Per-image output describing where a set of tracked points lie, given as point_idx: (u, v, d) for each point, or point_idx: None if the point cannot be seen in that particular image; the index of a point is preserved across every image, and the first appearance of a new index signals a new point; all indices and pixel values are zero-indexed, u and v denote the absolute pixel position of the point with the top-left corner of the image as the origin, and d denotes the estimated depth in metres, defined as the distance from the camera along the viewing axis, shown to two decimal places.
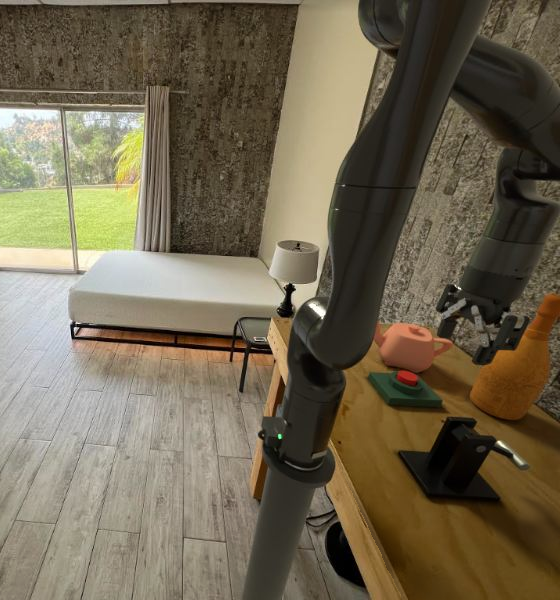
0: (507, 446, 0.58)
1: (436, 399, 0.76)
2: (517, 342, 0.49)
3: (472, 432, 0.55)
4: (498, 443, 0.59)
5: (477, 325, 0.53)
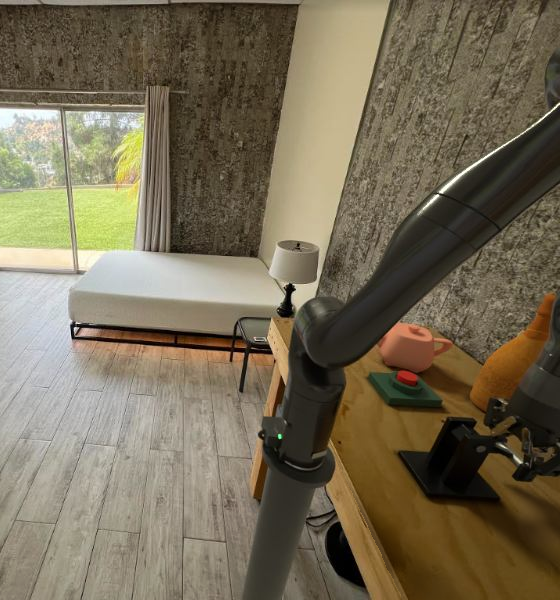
0: (507, 446, 0.58)
1: (436, 399, 0.76)
2: None
3: (472, 432, 0.55)
4: (498, 443, 0.59)
5: (523, 446, 0.53)
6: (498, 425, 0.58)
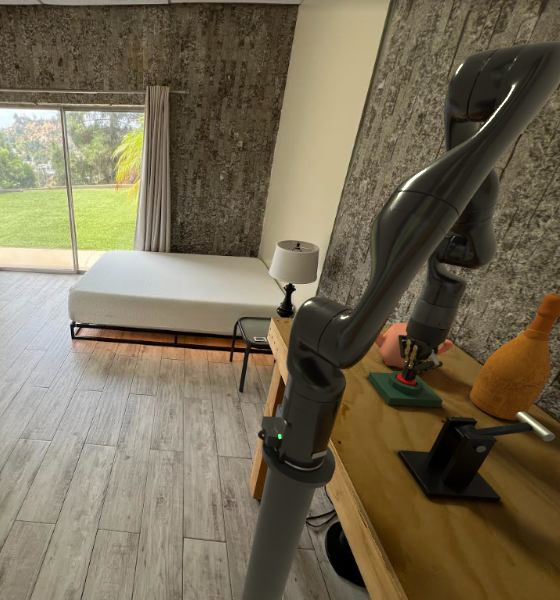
0: (525, 418, 0.55)
1: (436, 399, 0.76)
2: (429, 370, 0.74)
3: None
4: (517, 417, 0.56)
5: (411, 356, 0.76)
6: (405, 352, 0.78)
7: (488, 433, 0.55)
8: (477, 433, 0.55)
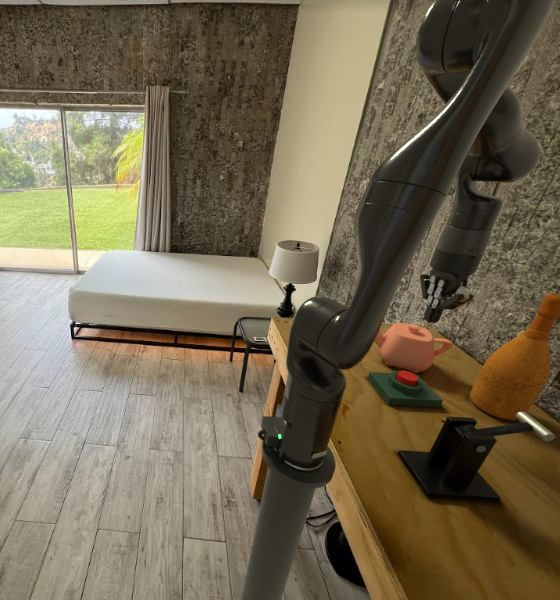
0: (525, 418, 0.55)
1: (436, 399, 0.76)
2: (456, 307, 0.67)
3: None
4: (517, 417, 0.56)
5: (436, 293, 0.69)
6: (428, 291, 0.71)
7: (488, 433, 0.55)
8: (477, 433, 0.55)
